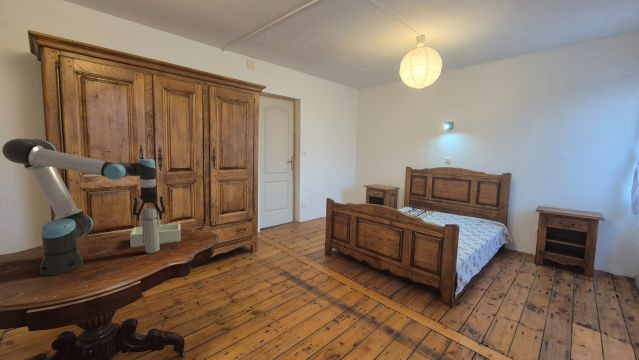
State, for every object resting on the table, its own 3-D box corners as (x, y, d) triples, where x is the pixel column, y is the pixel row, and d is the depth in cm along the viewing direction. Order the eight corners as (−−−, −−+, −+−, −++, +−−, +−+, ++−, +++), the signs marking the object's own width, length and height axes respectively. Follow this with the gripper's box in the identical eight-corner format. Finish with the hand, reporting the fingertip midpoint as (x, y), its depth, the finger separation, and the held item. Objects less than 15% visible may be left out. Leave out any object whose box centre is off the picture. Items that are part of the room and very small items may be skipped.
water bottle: (163, 249, 156) (160, 207, 152) (153, 254, 148) (150, 211, 145) (148, 248, 156) (145, 207, 153) (138, 253, 149) (135, 210, 146)
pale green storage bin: (130, 247, 156) (129, 234, 155) (134, 239, 171) (134, 227, 170) (180, 241, 169) (180, 229, 168) (180, 234, 183) (180, 223, 182)
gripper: (124, 188, 140) (126, 229, 142) (169, 186, 149) (170, 225, 152) (126, 186, 146) (128, 226, 149) (169, 185, 156) (171, 222, 159)
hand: (150, 225), depth 150 cm, fingers closed on water bottle, 8 cm apart
